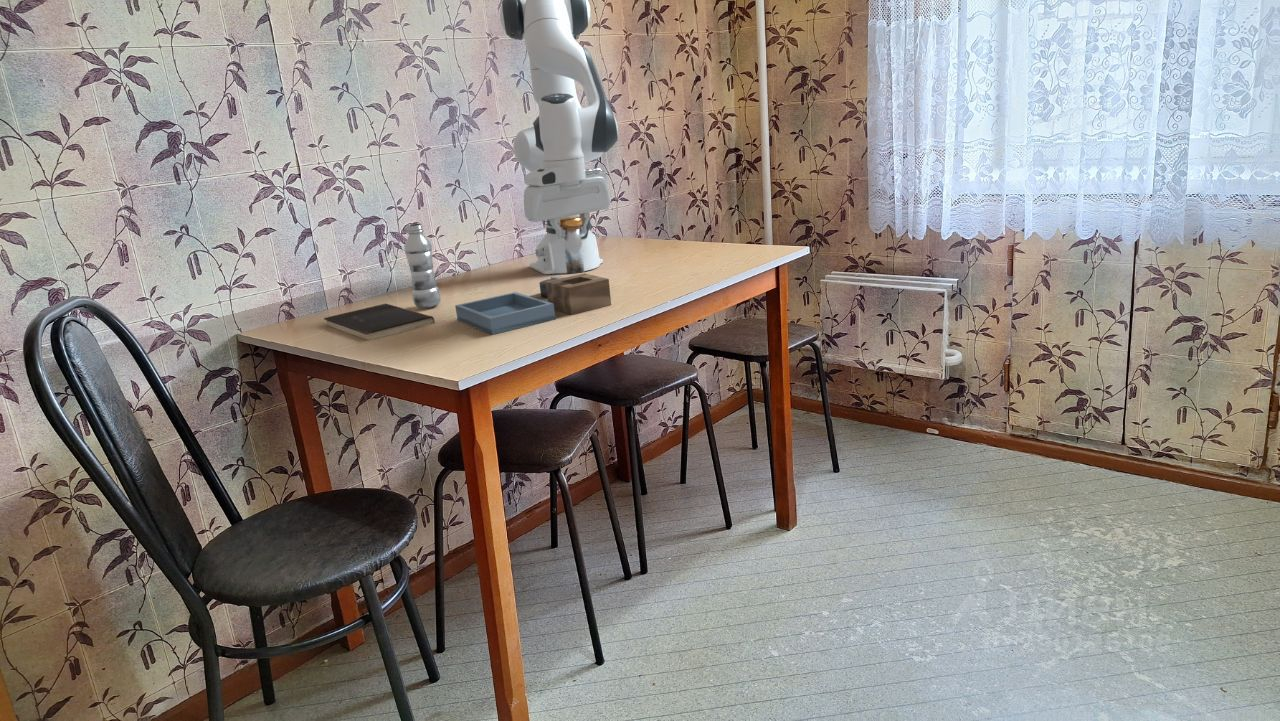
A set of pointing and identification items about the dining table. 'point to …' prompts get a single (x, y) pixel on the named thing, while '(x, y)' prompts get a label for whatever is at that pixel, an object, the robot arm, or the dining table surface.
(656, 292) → the dining table surface
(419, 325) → the hardcover book
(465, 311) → the tray
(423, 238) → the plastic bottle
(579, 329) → the dining table surface
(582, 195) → the robot arm
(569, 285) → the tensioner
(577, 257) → the pin
